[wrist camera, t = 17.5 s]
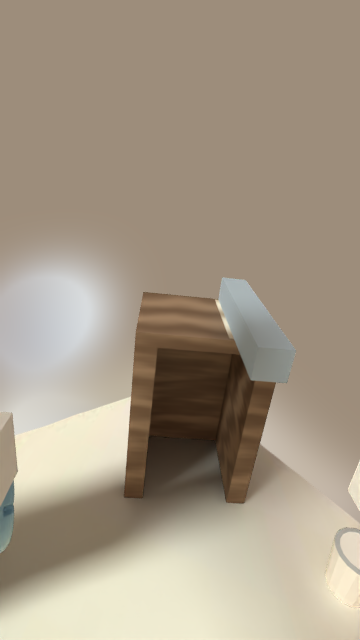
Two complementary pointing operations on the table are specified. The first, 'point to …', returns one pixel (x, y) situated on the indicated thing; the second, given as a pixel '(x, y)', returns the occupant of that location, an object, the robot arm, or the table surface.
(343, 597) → the shot glass
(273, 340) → the rod
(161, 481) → the table surface
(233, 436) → the shelf
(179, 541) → the table surface
